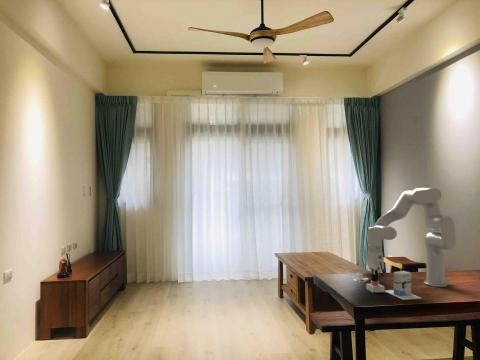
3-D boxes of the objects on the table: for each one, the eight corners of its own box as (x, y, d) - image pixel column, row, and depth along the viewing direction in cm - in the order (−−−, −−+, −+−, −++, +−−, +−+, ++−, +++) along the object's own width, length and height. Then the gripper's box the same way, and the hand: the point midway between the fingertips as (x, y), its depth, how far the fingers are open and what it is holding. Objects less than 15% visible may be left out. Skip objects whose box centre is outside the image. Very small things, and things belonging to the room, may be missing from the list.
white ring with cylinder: (369, 281, 222) (369, 274, 223) (365, 283, 216) (365, 276, 217) (356, 278, 228) (356, 272, 228) (351, 281, 222) (351, 274, 222)
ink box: (400, 296, 188) (400, 274, 189) (393, 293, 193) (393, 272, 193) (411, 294, 192) (411, 272, 192) (404, 291, 196) (404, 270, 197)
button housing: (377, 288, 204) (377, 283, 204) (384, 291, 197) (384, 286, 197) (366, 289, 203) (366, 283, 203) (373, 292, 196) (373, 287, 196)
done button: (376, 288, 203) (376, 279, 203) (380, 290, 198) (380, 281, 198) (369, 288, 202) (369, 280, 202) (373, 290, 197) (373, 282, 197)
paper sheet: (401, 290, 201) (401, 289, 201) (421, 298, 186) (421, 298, 186) (384, 291, 199) (384, 290, 199) (403, 299, 183) (403, 299, 183)
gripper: (389, 250, 194) (388, 284, 194) (373, 246, 209) (373, 277, 208) (376, 251, 192) (376, 285, 192) (361, 246, 207) (361, 278, 207)
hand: (374, 281), depth 200 cm, fingers closed
